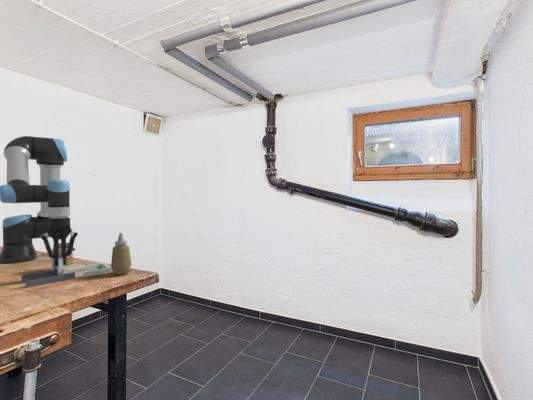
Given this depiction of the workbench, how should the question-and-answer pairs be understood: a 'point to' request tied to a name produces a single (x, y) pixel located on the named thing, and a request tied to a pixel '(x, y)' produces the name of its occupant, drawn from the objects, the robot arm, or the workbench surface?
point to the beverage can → (68, 259)
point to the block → (75, 269)
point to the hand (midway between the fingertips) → (60, 273)
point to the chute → (45, 278)
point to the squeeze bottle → (121, 257)
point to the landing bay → (99, 271)
